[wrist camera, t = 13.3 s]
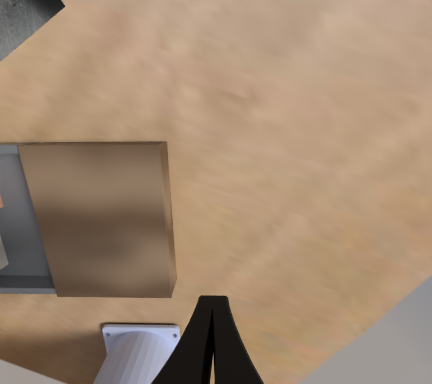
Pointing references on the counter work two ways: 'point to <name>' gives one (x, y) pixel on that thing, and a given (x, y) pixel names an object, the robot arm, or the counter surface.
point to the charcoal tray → (20, 231)
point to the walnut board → (104, 216)
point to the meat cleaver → (23, 20)
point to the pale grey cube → (2, 256)
